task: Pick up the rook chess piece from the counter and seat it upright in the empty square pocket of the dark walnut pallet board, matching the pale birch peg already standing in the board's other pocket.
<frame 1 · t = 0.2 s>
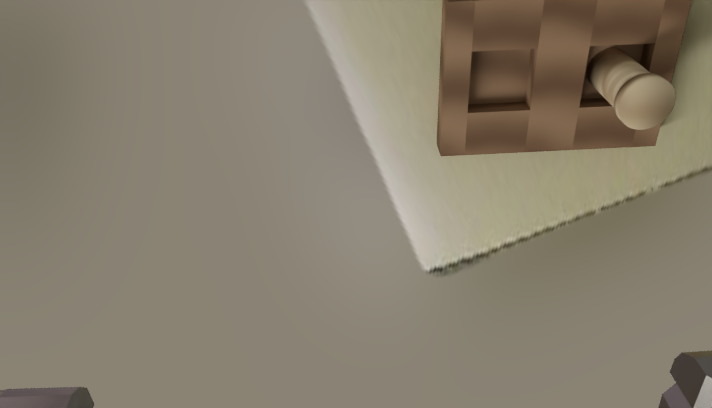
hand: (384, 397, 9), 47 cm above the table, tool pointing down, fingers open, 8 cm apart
pallet board: (550, 68, 56), on the table
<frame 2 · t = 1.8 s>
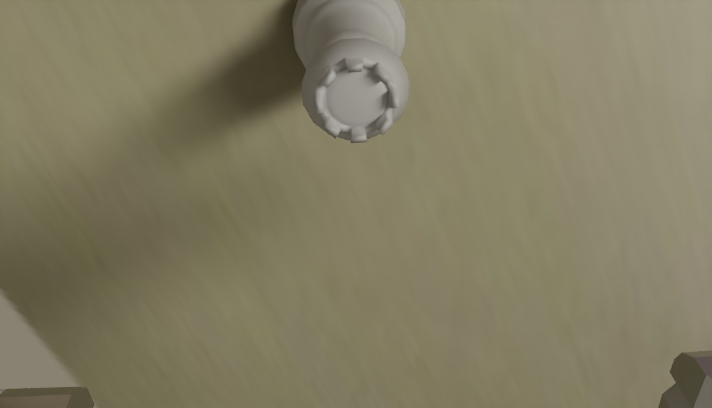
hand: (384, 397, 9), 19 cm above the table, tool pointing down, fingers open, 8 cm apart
rook chess piece: (348, 23, 25), on the table
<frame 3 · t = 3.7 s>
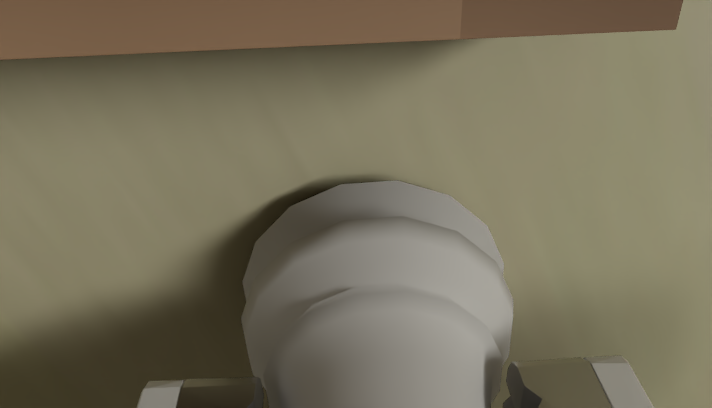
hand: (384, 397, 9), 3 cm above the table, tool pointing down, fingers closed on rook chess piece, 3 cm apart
rook chess piece: (371, 267, 11), on the table, touching gripper
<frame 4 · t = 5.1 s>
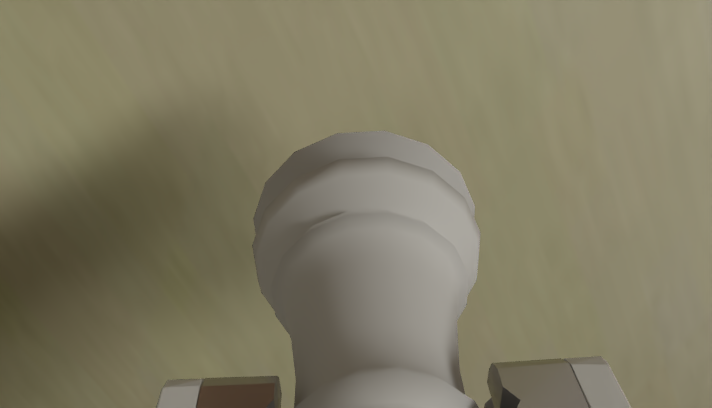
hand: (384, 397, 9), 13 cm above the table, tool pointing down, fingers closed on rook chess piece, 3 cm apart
rook chess piece: (363, 212, 13), point 8 cm above the table, touching gripper
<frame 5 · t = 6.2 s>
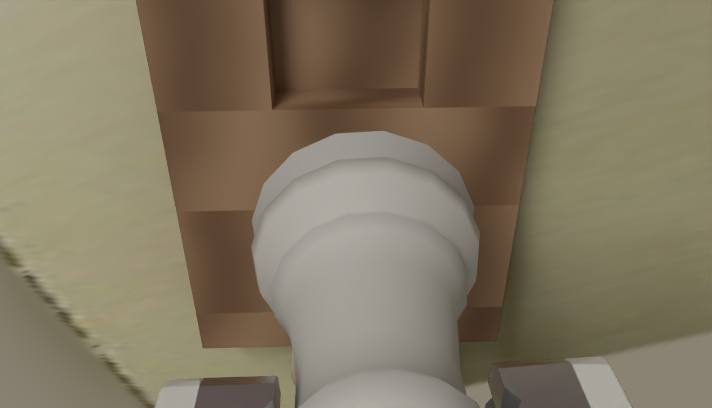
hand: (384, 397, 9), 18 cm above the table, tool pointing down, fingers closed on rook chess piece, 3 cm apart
pallet board: (347, 132, 26), on the table
rook chess piece: (362, 212, 13), point 13 cm above the table, touching gripper
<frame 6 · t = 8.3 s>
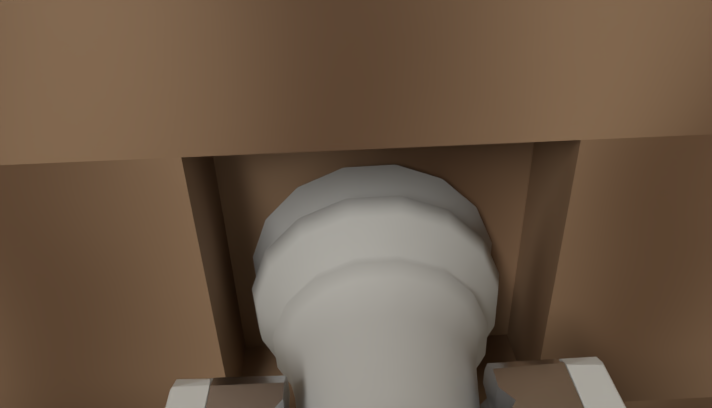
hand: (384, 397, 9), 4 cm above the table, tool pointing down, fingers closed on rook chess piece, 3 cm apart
pallet board: (376, 389, 15), on the table
rook chess piece: (371, 246, 12), resting on pallet board, touching gripper
when the fingers open (4 cm above the table, at t = 8.4 s): rook chess piece stays where it is, resting on pallet board.
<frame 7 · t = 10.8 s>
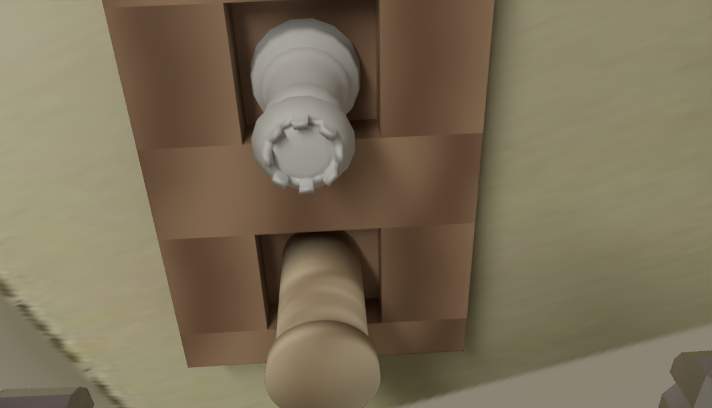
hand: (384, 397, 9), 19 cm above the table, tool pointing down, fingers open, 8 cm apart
pallet board: (314, 161, 29), on the table
rook chess piece: (306, 67, 26), resting on pallet board
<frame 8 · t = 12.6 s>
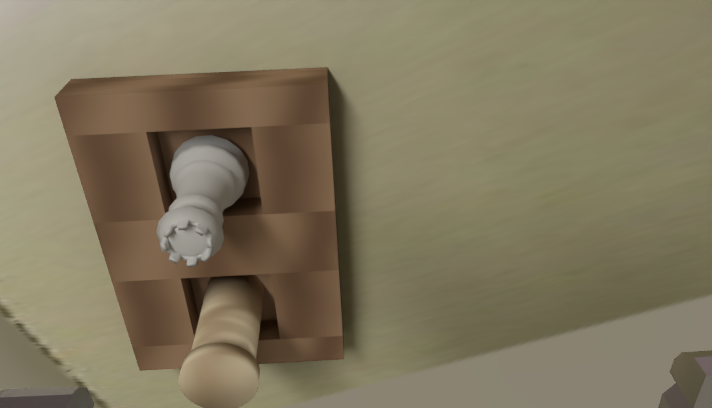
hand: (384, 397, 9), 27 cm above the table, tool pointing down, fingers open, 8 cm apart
pallet board: (226, 224, 40), on the table
rook chess piece: (212, 164, 37), resting on pallet board
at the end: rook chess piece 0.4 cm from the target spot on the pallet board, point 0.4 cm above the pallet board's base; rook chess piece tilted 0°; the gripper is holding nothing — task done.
